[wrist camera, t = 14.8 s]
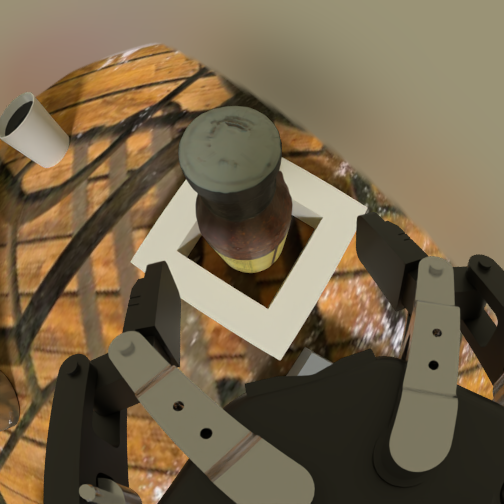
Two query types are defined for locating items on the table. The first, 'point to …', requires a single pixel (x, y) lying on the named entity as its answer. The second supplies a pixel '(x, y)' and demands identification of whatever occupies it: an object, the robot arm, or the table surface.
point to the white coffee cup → (33, 131)
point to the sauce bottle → (238, 185)
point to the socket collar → (295, 284)
